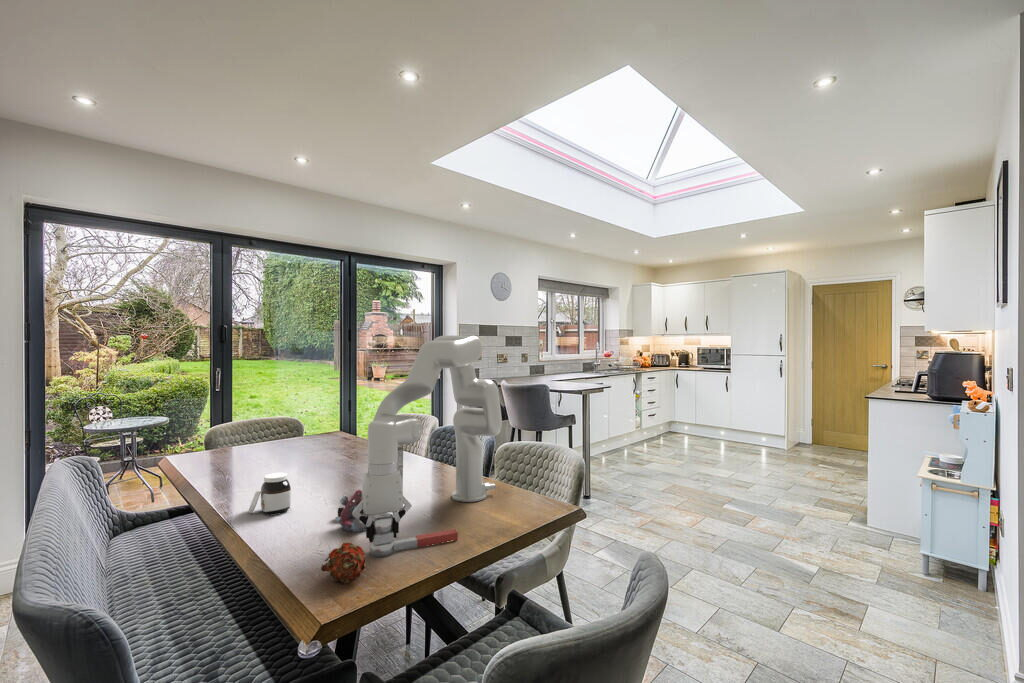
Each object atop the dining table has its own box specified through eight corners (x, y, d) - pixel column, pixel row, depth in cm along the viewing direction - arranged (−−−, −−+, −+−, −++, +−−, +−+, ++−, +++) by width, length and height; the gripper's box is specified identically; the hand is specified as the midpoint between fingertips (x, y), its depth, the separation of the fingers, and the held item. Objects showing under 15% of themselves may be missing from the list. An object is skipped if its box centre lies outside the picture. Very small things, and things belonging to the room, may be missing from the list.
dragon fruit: (355, 598, 98) (332, 586, 107) (382, 563, 104) (358, 554, 112) (330, 573, 96) (308, 562, 104) (359, 539, 101) (336, 531, 109)
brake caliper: (354, 530, 125) (340, 490, 130) (336, 546, 130) (323, 507, 135) (388, 518, 134) (374, 481, 138) (370, 533, 139) (357, 497, 144)
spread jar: (294, 511, 146) (294, 475, 146) (255, 521, 138) (256, 483, 138) (280, 503, 154) (280, 469, 154) (243, 512, 146) (243, 475, 146)
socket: (391, 534, 120) (391, 511, 121) (394, 542, 116) (394, 518, 116) (370, 537, 118) (370, 514, 118) (373, 545, 114) (373, 521, 114)
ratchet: (453, 534, 128) (453, 516, 128) (459, 542, 123) (459, 524, 123) (368, 549, 118) (368, 530, 119) (371, 559, 113) (371, 539, 113)
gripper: (412, 461, 124) (412, 527, 124) (346, 468, 117) (346, 538, 117) (418, 468, 117) (418, 537, 117) (349, 475, 110) (348, 550, 110)
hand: (382, 537), depth 117 cm, fingers open, 5 cm apart
